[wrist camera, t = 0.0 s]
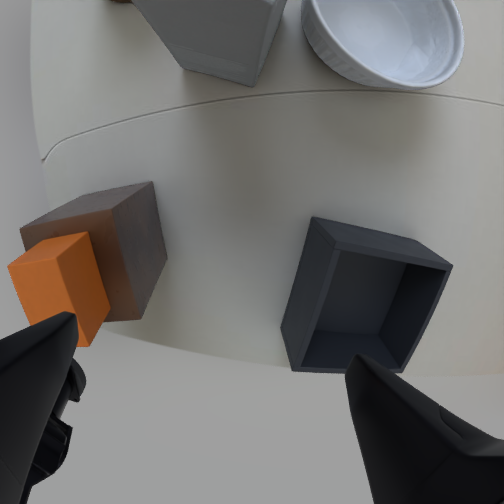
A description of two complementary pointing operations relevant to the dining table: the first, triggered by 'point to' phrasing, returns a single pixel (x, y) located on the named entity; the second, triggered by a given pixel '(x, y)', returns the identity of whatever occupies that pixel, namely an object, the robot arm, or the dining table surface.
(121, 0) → the utensil holder
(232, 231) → the dining table surface
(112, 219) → the stand
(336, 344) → the open box
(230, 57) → the cosmetic box
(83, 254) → the orange block
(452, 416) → the robot arm
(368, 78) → the ramekin
